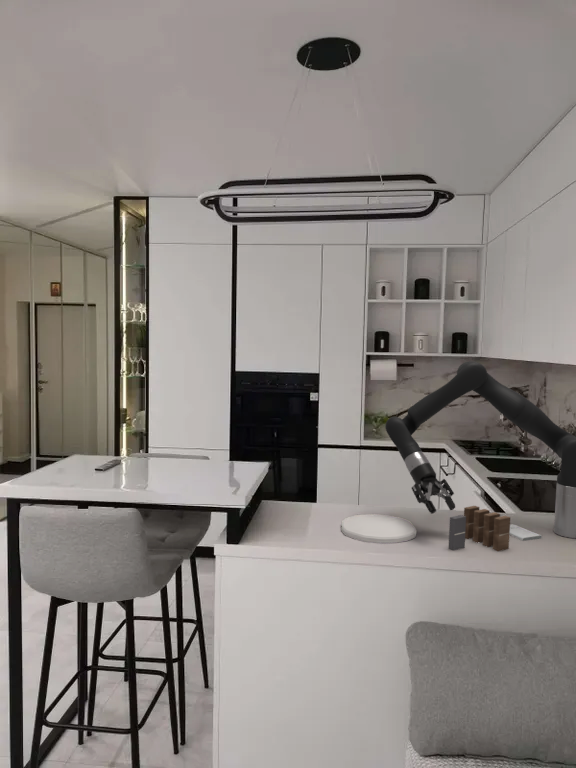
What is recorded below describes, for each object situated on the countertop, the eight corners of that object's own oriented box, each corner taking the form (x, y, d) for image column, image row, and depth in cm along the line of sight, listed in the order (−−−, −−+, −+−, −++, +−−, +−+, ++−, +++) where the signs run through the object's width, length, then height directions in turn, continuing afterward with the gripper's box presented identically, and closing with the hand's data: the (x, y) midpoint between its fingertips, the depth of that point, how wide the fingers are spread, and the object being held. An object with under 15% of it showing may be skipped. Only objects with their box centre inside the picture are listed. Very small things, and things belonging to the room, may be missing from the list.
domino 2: (462, 537, 188) (464, 507, 187) (473, 534, 190) (474, 505, 189) (467, 539, 186) (469, 509, 185) (478, 536, 188) (479, 507, 188)
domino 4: (482, 545, 181) (484, 514, 180) (493, 542, 183) (494, 512, 182) (487, 547, 179) (489, 516, 178) (498, 544, 182) (500, 513, 181)
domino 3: (472, 541, 184) (474, 510, 183) (483, 538, 187) (484, 508, 186) (477, 543, 182) (479, 512, 182) (488, 540, 185) (489, 510, 184)
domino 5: (492, 549, 177) (494, 517, 177) (503, 546, 180) (504, 515, 179) (498, 551, 176) (499, 519, 175) (508, 548, 178) (510, 517, 177)
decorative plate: (408, 509, 204) (423, 533, 180) (408, 520, 205) (422, 546, 180) (339, 507, 205) (344, 531, 180) (338, 518, 205) (343, 543, 181)
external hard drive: (522, 542, 185) (495, 530, 197) (541, 539, 188) (513, 528, 200) (522, 537, 185) (495, 525, 197) (541, 535, 188) (514, 523, 200)
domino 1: (448, 548, 177) (449, 517, 176) (459, 545, 180) (461, 514, 179) (453, 550, 175) (454, 519, 175) (464, 547, 178) (466, 516, 177)
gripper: (409, 464, 185) (434, 507, 176) (441, 460, 192) (466, 501, 183) (398, 476, 190) (421, 519, 181) (429, 472, 197) (452, 513, 188)
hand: (443, 510), depth 182 cm, fingers open, 8 cm apart
